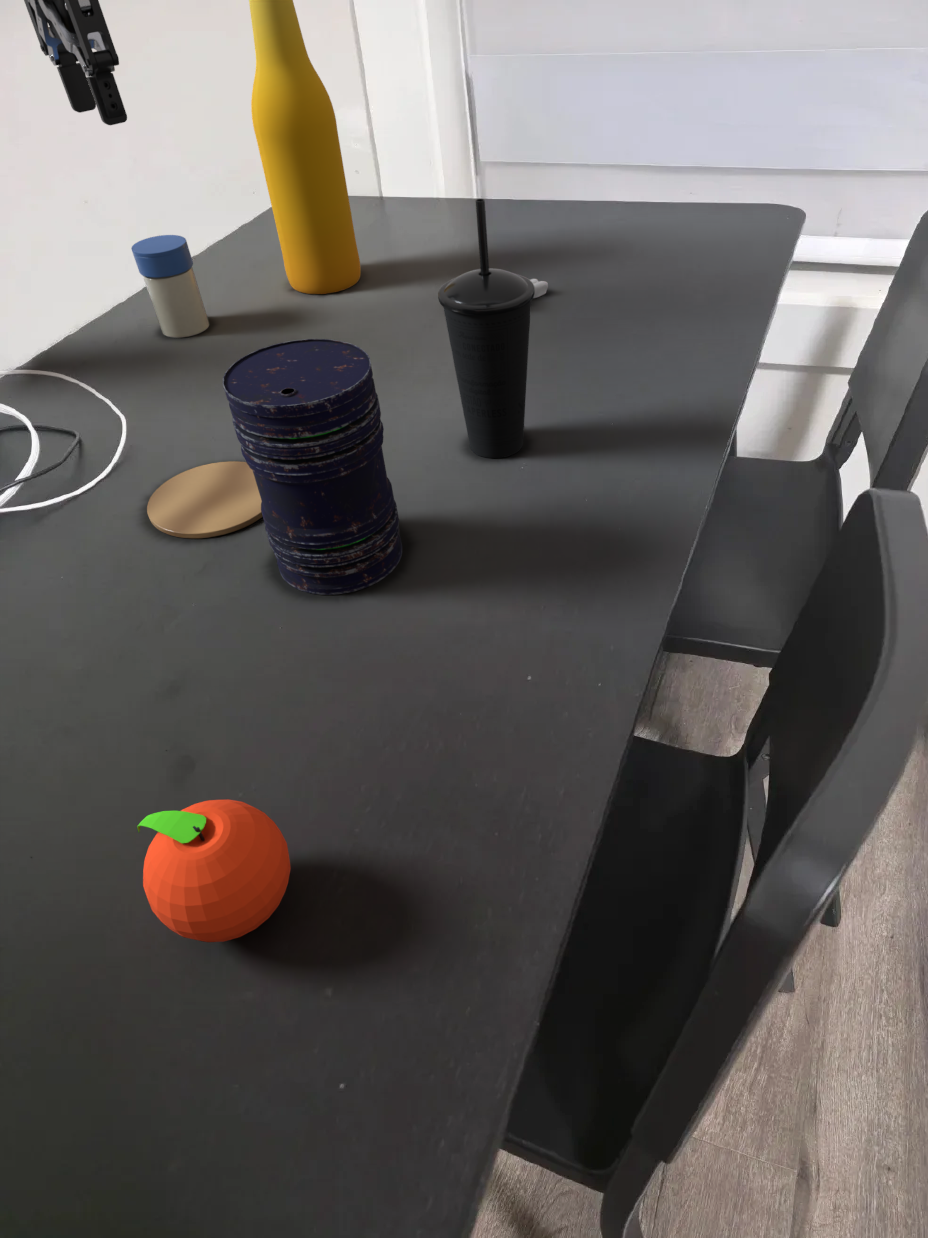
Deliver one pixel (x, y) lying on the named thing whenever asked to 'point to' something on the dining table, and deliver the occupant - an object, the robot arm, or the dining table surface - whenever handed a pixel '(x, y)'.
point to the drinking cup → (490, 349)
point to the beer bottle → (301, 155)
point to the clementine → (215, 869)
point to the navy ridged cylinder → (317, 462)
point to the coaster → (206, 501)
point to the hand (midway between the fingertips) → (100, 116)
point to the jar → (178, 304)
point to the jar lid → (162, 256)
